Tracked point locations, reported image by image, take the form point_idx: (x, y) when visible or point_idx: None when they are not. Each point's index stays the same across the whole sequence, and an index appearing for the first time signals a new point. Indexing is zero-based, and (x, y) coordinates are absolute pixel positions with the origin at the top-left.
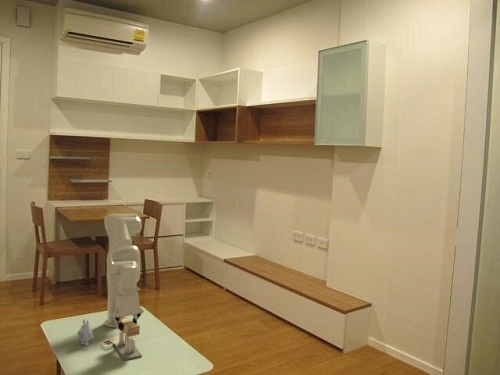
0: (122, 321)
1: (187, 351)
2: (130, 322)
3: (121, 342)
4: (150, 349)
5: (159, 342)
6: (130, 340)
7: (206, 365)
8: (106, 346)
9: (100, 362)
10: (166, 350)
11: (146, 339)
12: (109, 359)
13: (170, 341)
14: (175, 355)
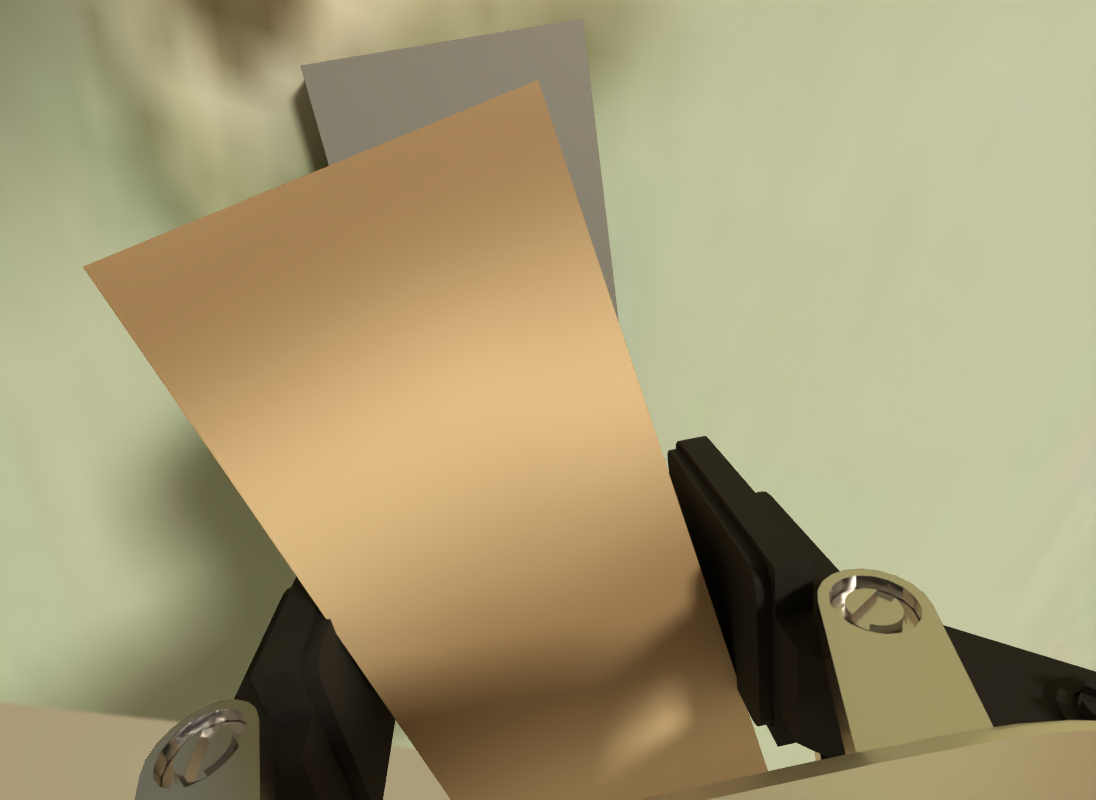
0: (387, 553)
1: (1087, 534)
2: (633, 668)
3: None
4: (779, 409)
5: (949, 235)
6: (589, 108)
7: None
8: (212, 157)
9: (204, 592)
10: (924, 471)
11: (832, 64)
12: None
13: (1080, 243)
14: (949, 587)
